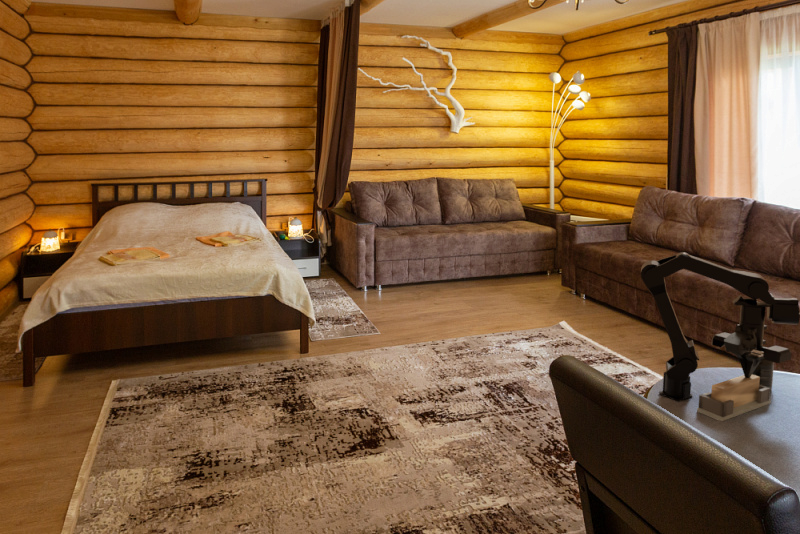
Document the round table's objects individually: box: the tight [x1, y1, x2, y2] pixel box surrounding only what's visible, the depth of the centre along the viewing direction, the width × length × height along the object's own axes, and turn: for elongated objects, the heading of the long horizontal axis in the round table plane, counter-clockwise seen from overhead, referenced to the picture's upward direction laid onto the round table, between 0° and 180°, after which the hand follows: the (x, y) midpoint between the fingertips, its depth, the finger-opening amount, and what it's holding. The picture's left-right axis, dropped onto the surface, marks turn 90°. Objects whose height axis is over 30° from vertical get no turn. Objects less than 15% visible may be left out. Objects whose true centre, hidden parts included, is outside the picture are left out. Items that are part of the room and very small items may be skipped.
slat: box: [710, 374, 760, 408], centre depth 166 cm, size 3×16×6 cm, turn 119°
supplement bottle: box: [753, 348, 775, 392], centre depth 178 cm, size 7×7×12 cm
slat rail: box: [696, 385, 772, 422], centre depth 166 cm, size 7×21×4 cm, turn 119°
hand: (747, 377), depth 168 cm, fingers closed, pressing on slat
